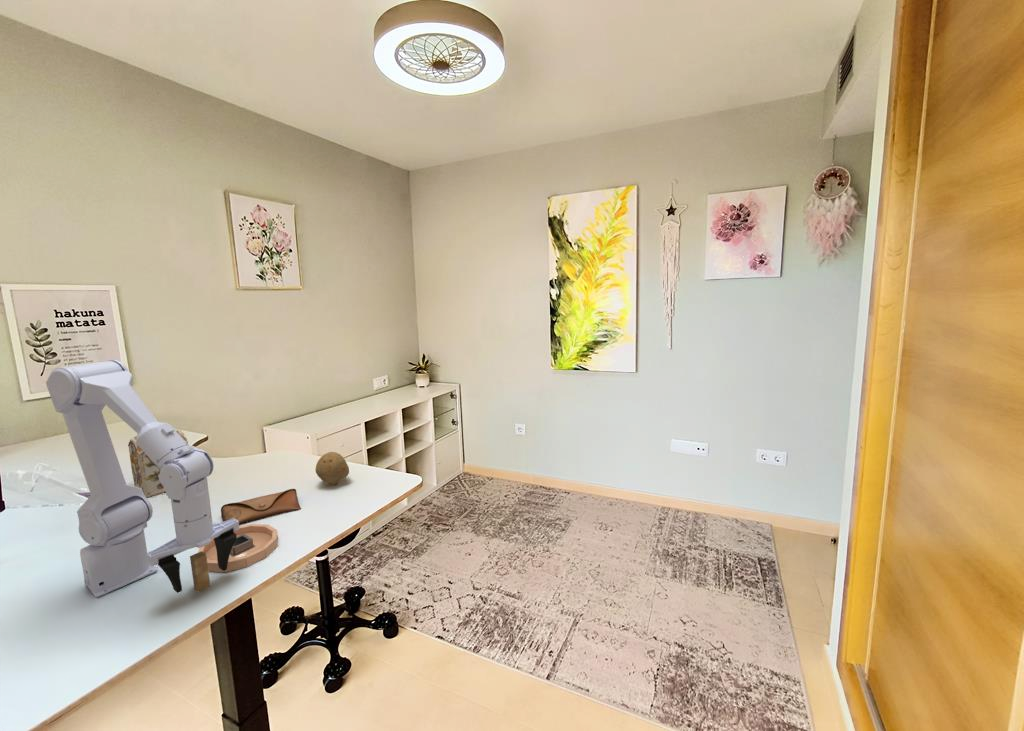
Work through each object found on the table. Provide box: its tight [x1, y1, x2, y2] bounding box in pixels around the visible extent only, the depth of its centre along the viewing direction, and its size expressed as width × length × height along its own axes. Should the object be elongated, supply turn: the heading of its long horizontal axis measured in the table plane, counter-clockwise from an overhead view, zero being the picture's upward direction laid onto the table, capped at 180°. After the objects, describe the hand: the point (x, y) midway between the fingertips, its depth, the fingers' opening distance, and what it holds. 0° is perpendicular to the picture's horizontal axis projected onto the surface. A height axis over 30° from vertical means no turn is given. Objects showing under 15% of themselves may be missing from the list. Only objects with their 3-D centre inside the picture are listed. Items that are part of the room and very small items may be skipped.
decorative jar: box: [127, 429, 189, 499], centre depth 125 cm, size 12×12×18 cm
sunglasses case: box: [220, 488, 302, 526], centre depth 112 cm, size 18×7×7 cm, turn 127°
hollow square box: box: [230, 534, 255, 557], centre depth 95 cm, size 5×5×2 cm
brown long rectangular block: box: [189, 551, 211, 593], centre depth 83 cm, size 2×2×7 cm
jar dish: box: [197, 523, 279, 573], centre depth 95 cm, size 15×15×2 cm
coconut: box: [315, 451, 350, 486], centre depth 128 cm, size 9×9×10 cm
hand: (201, 578), depth 83 cm, fingers open, 7 cm apart
